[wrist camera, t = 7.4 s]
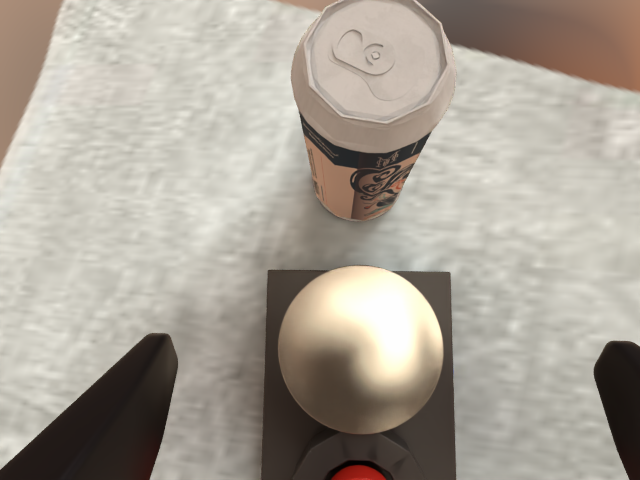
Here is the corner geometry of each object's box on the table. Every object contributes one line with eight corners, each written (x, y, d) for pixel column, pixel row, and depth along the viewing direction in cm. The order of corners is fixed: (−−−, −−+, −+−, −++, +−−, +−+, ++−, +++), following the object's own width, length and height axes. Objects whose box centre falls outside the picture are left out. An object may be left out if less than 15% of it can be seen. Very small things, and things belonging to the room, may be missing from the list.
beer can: (376, 239, 23) (415, 170, 11) (297, 197, 24) (255, 90, 12) (418, 161, 24) (496, 18, 12) (339, 122, 24) (339, -53, 12)
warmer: (451, 548, 21) (470, 588, 18) (262, 541, 21) (250, 579, 18) (444, 273, 23) (460, 268, 20) (271, 271, 23) (261, 266, 20)
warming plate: (349, 468, 19) (349, 471, 19) (246, 334, 20) (245, 335, 20) (476, 359, 19) (478, 360, 19) (369, 233, 20) (370, 232, 20)
